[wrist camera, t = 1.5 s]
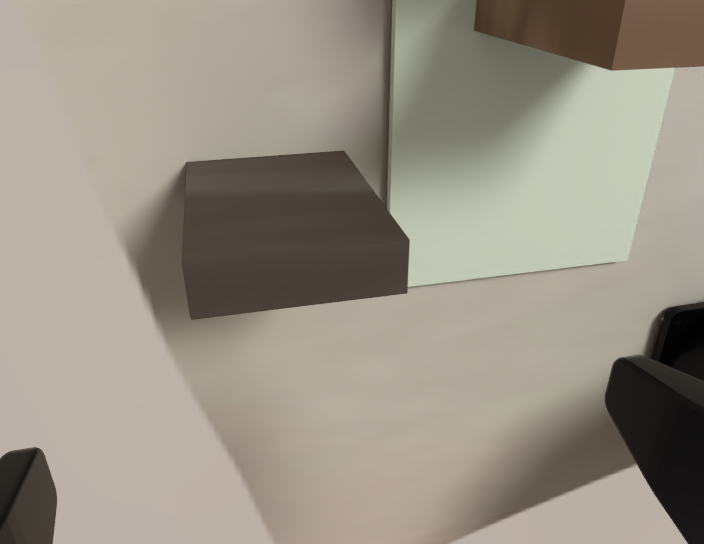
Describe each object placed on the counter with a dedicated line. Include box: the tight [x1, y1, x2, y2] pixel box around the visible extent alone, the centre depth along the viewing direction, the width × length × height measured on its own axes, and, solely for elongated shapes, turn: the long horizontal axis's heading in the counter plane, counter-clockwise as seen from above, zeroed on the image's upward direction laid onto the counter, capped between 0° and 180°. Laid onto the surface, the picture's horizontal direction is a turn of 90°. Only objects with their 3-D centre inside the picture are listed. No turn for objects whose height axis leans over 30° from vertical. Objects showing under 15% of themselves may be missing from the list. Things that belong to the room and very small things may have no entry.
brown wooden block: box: [474, 0, 704, 71], centre depth 15 cm, size 1×5×7 cm, turn 89°
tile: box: [182, 151, 410, 320], centre depth 16 cm, size 1×5×7 cm, turn 90°
